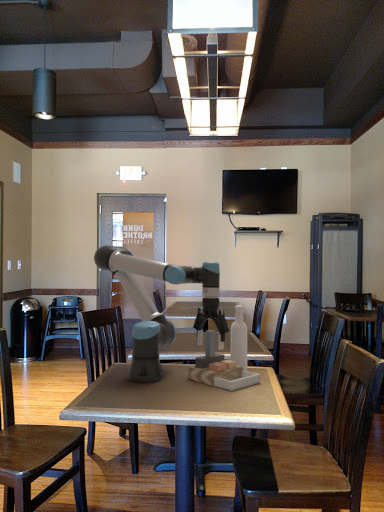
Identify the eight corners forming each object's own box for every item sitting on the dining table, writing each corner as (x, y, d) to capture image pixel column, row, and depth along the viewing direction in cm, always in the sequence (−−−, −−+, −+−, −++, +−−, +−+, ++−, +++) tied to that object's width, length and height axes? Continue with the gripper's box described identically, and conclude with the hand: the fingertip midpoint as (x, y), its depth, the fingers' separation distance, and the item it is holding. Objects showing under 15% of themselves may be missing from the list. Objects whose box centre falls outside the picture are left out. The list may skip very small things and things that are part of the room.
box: (214, 386, 167) (214, 377, 167) (243, 378, 179) (243, 370, 179) (231, 391, 160) (231, 382, 160) (259, 382, 173) (260, 374, 173)
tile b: (220, 367, 178) (220, 361, 178) (227, 365, 181) (228, 359, 182) (229, 369, 174) (229, 363, 174) (236, 367, 178) (236, 361, 178)
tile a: (208, 369, 173) (208, 363, 173) (217, 367, 177) (217, 361, 177) (217, 372, 170) (217, 365, 170) (225, 370, 173) (225, 364, 173)
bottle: (248, 369, 195) (248, 305, 196) (246, 373, 188) (247, 306, 189) (231, 368, 197) (231, 304, 198) (228, 372, 190) (229, 306, 191)
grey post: (195, 367, 178) (195, 331, 178) (217, 362, 187) (218, 328, 188) (201, 368, 175) (202, 332, 175) (224, 363, 184) (224, 329, 185)
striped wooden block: (188, 378, 178) (188, 367, 178) (217, 372, 190) (217, 361, 190) (214, 386, 167) (214, 373, 167) (243, 378, 179) (243, 366, 179)
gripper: (185, 296, 188) (185, 344, 187) (225, 299, 171) (225, 352, 170) (197, 295, 193) (197, 342, 193) (237, 298, 176) (237, 350, 175)
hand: (210, 347), depth 181 cm, fingers open, 12 cm apart
